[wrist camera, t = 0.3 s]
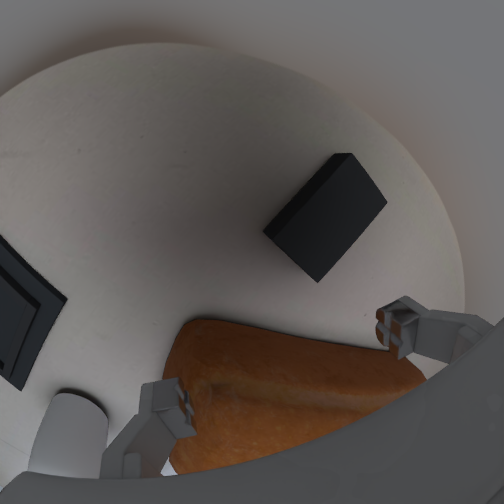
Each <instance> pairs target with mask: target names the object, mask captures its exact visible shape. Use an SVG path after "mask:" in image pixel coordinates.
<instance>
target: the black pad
mask: <svg viewBox="0 0 504 504" xmlns="http://www.w3.org/2000/svg"><path fill="white" fill-rule="evenodd" d="M386 204H387V201H386V199H385V198H384V196H383V195H382V193H381V192H380V190H379V189H378V187H377V186H376V185H375V183H374V182H373V180H372V179H371V178H370V176H369V175H368V174H367V172H366V171H365V169H364V168H363V167H362V165H361V164H360V163H359V161H358V160H357V159H356V158H355V156H354V155H353V154H352V153H335V154H334V155H333V156H332V157H331V158H330V159H329V160H328V161H327V162H326V164H325V165H324V166H323V167H322V168H321V169H320V170H319V171H318V172H317V173H316V174H315V175H314V176H313V177H312V179H311V180H310V181H309V182H308V183H307V184H306V185H305V186H304V187H303V188H302V189H301V190H300V191H299V192H298V194H297V195H296V196H295V197H294V198H293V199H292V200H291V201H290V202H289V203H288V204H287V205H286V206H285V208H284V209H283V210H282V211H281V212H280V213H279V214H278V215H277V216H276V217H275V218H274V219H273V220H272V222H271V223H270V224H269V225H268V226H267V227H266V228H265V229H264V230H263V233H264V234H265V235H267V236H268V237H269V238H270V239H271V240H272V241H273V242H274V243H275V244H276V245H277V246H278V247H279V248H280V249H282V250H283V251H284V252H285V253H286V254H287V255H288V256H289V257H290V258H291V259H292V260H293V261H294V262H295V263H296V264H297V265H298V266H299V267H301V268H302V269H303V270H304V271H305V272H306V273H307V274H308V275H309V276H310V277H311V278H312V279H313V280H315V281H316V282H317V283H318V282H319V281H320V280H321V279H322V278H323V277H324V276H325V275H326V274H327V272H328V271H329V270H330V269H331V268H332V267H333V266H334V265H335V264H336V262H337V261H338V260H339V259H340V258H341V257H342V256H343V255H344V253H345V252H346V251H347V250H348V249H349V248H350V247H351V245H352V244H353V243H354V242H355V241H356V240H357V239H358V237H359V236H360V235H361V234H362V233H363V232H364V230H365V229H366V228H367V227H368V226H369V224H370V223H371V222H372V221H373V220H374V218H375V217H376V216H377V215H378V214H379V212H380V211H381V210H382V209H383V207H384V206H385V205H386Z"/></svg>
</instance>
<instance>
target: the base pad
mask: <svg viewBox="0 0 504 504" xmlns="http://www.w3.org/2000/svg"><path fill="white" fill-rule="evenodd" d="M66 301H67V298H66V297H65V296H63V295H62V294H61V293H60V292H59V291H57V290H56V289H55V288H54V287H53V286H52V285H51V284H49V283H48V282H47V281H46V280H45V279H44V278H43V277H42V276H41V275H39V274H38V273H37V272H36V271H35V270H34V269H33V268H32V267H31V266H30V265H29V264H28V263H27V262H26V261H25V260H24V259H23V258H22V257H21V256H20V255H19V254H18V253H17V252H16V251H15V250H14V249H13V248H12V247H11V246H10V245H9V244H8V243H7V242H6V241H5V240H4V239H3V238H2V237H1V235H0V375H1V376H2V377H3V378H5V379H6V380H7V381H8V382H9V383H11V384H12V385H13V386H14V387H16V388H17V389H18V390H20V391H22V389H23V387H24V385H25V382H26V380H27V378H28V375H29V373H30V371H31V368H32V366H33V364H34V362H35V360H36V357H37V355H38V353H39V351H40V349H41V347H42V345H43V343H44V341H45V339H46V337H47V335H48V333H49V331H50V329H51V327H52V326H53V324H54V322H55V320H56V318H57V316H58V315H59V313H60V311H61V309H62V308H63V306H64V304H65V302H66Z"/></svg>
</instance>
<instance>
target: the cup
mask: <svg viewBox="0 0 504 504" xmlns="http://www.w3.org/2000/svg"><path fill="white" fill-rule="evenodd" d="M107 435H108V419H107V417H106V415H105V414H104V412H103V411H102V410H101V409H100V408H99V407H98V406H96V405H95V404H94V403H92V402H91V401H89V400H88V399H85V398H83V397H81V396H78V395H74V394H69V393H60V394H57V395H56V396H54V398H53V399H52V401H51V403H50V405H49V407H48V409H47V411H46V413H45V415H44V418H43V420H42V422H41V425H40V427H39V430H38V432H37V435H36V438H35V441H34V444H33V447H32V451H31V455H30V459H29V464H28V471H31V472H37V473H42V474H48V475H56V476H65V477H76V478H92V479H99V475H100V467H101V459H102V453H103V452H104V451H105V450H106V447H107Z"/></svg>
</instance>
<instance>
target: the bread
mask: <svg viewBox="0 0 504 504" xmlns="http://www.w3.org/2000/svg"><path fill="white" fill-rule="evenodd" d="M175 377H180V378H181V379H182V381H183V383H184V390H186V391H188V392H189V394H190V396H191V398H192V401H193V404H194V408H195V414H194V416H193V418H194V419H195V421H196V426H197V434H198V435H195V436H191V437H186V438H181V439H176V440H177V442H176V444H175V445H174V447H173V449H172V451H171V453H170V455H169V462H170V463H171V465H172V467H173V469H174V470H175V472H176V473H177V474H178V475H180V474H187V473H193V472H199V471H205V470H211V469H216V468H221V467H225V466H230V465H234V464H238V463H242V462H246V461H250V460H254V459H257V458H261V457H264V456H268V455H271V454H274V453H277V452H281V451H284V450H287V449H290V448H292V447H295V446H298V445H301V444H304V443H306V442H309V441H311V440H314V439H317V438H319V437H321V436H324V435H326V434H329V433H331V432H333V431H336V430H338V429H340V428H342V427H345V426H347V425H349V424H351V423H353V422H355V421H357V420H359V419H361V418H363V417H365V416H367V415H369V414H371V413H373V412H375V411H377V410H379V409H380V408H382V407H384V406H386V405H388V404H389V403H391V402H393V401H395V400H396V399H398V398H400V397H401V396H403V395H405V394H406V393H408V392H409V391H411V390H413V389H414V388H416V387H417V386H419V385H420V384H422V383H423V382H425V381H426V378H425V376H424V375H423V373H422V371H420V370H419V369H418V368H417V367H416V366H415V365H414V364H412V363H411V362H410V361H409V360H408V359H407V358H406V357H403V358H401V359H399V360H398V359H397V358H396V357H395V356H394V355H393V354H392V353H390V352H386V351H379V350H371V349H364V348H358V347H351V346H344V345H338V344H332V343H326V342H320V341H314V340H309V339H304V338H299V337H294V336H290V335H285V334H281V333H276V332H272V331H268V330H263V329H259V328H254V327H249V326H244V325H239V324H234V323H230V322H225V321H220V320H198V319H196V320H194V321H192V322H189V323H187V324H185V325H184V326H183V328H182V329H181V331H180V333H179V334H178V336H177V337H176V339H175V342H174V344H173V347H172V349H171V352H170V355H169V357H168V359H167V362H166V365H165V369H164V373H163V380H165V379H170V378H175Z"/></svg>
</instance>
